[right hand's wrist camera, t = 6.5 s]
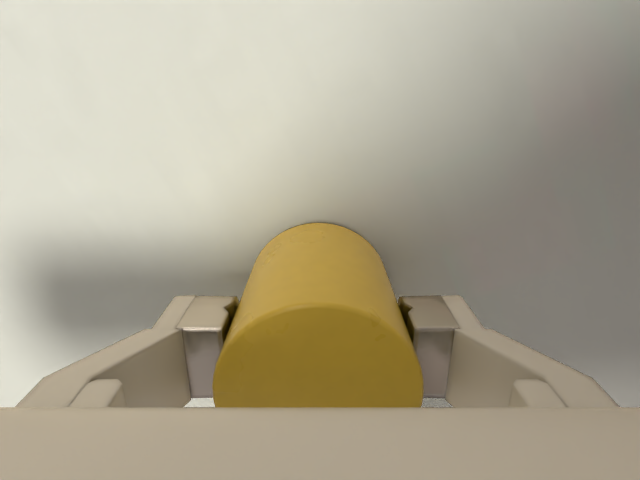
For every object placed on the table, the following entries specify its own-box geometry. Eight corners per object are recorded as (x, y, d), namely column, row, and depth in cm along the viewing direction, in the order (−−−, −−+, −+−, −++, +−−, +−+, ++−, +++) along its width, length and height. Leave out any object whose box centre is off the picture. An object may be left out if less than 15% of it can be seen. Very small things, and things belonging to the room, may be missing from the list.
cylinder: (277, 357, 13) (254, 493, 9) (230, 244, 12) (176, 337, 7) (400, 325, 13) (443, 451, 8) (367, 204, 11) (397, 277, 7)
